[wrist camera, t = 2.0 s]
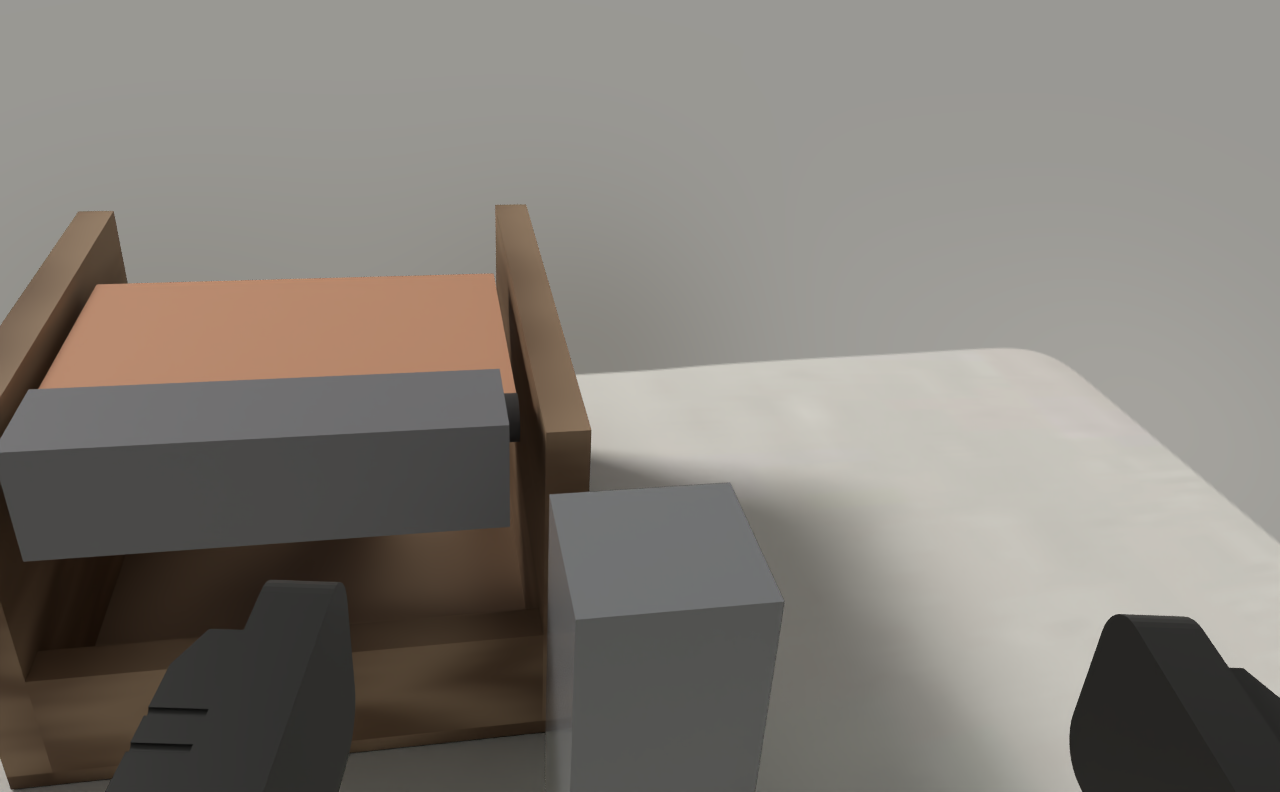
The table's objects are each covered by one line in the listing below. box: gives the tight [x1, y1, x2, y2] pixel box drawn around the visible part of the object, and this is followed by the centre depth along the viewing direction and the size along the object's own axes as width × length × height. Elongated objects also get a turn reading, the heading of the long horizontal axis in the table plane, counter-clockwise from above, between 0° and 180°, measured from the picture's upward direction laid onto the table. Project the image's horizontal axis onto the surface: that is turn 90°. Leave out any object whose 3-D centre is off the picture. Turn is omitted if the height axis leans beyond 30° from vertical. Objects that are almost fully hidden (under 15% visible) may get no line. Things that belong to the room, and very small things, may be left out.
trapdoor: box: [0, 274, 520, 562], centre depth 33 cm, size 13×12×3 cm
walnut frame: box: [0, 205, 591, 789], centre depth 37 cm, size 16×17×11 cm
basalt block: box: [545, 483, 784, 792], centre depth 28 cm, size 4×4×11 cm
